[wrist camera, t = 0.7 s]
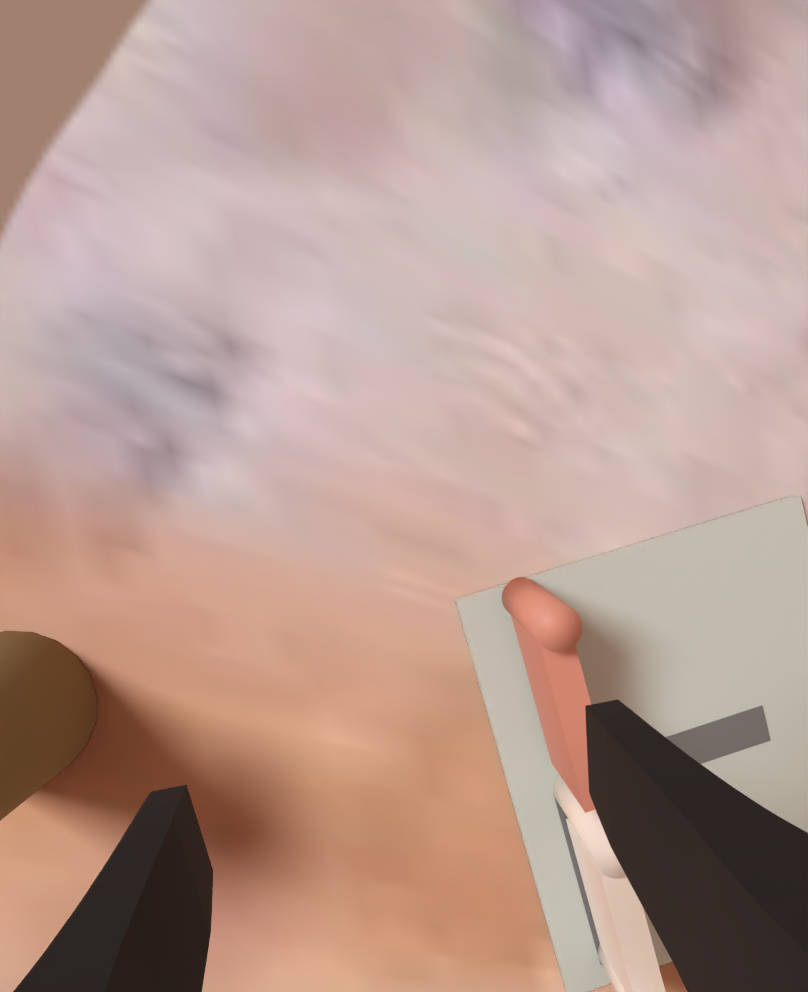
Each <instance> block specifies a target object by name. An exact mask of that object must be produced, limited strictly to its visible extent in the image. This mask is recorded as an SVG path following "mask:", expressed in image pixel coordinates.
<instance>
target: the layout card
mask: <svg viewBox="0 0 808 992" xmlns="http://www.w3.org/2000/svg"><path fill="white" fill-rule="evenodd" d="M525 578H529V579H531V580H533V581H534V582H536V583H537V584H539V585H540V586H541V587H543V588H544V589H546V590H547V591H548V592H550V593H551V594H553V595H554V596H555V597H557V598H558V599H560V600H561V601H562V602H564V603H565V604H566V605H568V606H569V607H571V608H572V609H573V610H575V611H576V612H577V613H578V615H579V617H580V619H581V622H582V633H581V637H580V639H579V640H578V642H577V643H576V644H575V645H576V649H577V653H578V656H579V660H580V664H581V668H582V671H583V675H584V679H585V683H586V687H587V690H588V694H589V698H590V702H591V704H597V703H602V702H607V701H612V700H617V699H618V700H619V701H620V702H622V703H623V704H624V705H626V706H627V707H628V708H630V709H631V710H632V711H633V712H635V713H636V714H637V715H638V716H640V717H641V718H642V719H643V720H644V721H646V722H647V723H648V724H649V725H651V726H652V727H653V728H654V729H656V730H657V731H658V732H659V733H661V734H662V735H663V736H665V737H666V738H667V739H668V740H670V741H671V742H672V743H673V744H675V745H676V746H677V747H679V748H680V749H681V750H683V751H684V752H685V753H687V754H688V755H689V756H691V757H692V758H693V759H695V760H696V761H697V762H699V763H700V764H701V765H703V766H704V767H706V768H707V769H708V770H710V771H711V772H712V773H714V774H715V775H716V776H718V777H719V778H721V779H722V780H724V781H725V782H726V783H728V784H729V785H731V786H732V787H734V788H735V789H737V790H738V791H740V792H741V793H743V794H744V795H746V796H747V797H749V798H750V799H752V800H753V801H755V802H756V803H758V804H759V805H761V806H763V807H764V808H766V809H767V810H769V811H771V812H772V813H774V814H776V815H777V816H779V817H781V818H782V819H784V820H786V821H788V822H789V823H791V824H793V825H795V826H797V827H798V828H800V829H802V830H804V831H805V832H807V833H808V526H807V522H806V517H805V513H804V509H803V504H802V500H801V495H792V496H789V497H785V498H782V499H779V500H776V501H772V502H769V503H766V504H763V505H759V506H756V507H753V508H750V509H746V510H743V511H740V512H737V513H733V514H730V515H727V516H724V517H720V518H717V519H714V520H711V521H707V522H704V523H701V524H698V525H694V526H691V527H688V528H685V529H681V530H678V531H675V532H672V533H668V534H665V535H662V536H659V537H655V538H652V539H649V540H646V541H642V542H639V543H636V544H633V545H629V546H626V547H623V548H620V549H616V550H613V551H610V552H607V553H603V554H600V555H597V556H594V557H590V558H587V559H584V560H581V561H577V562H574V563H571V564H568V565H564V566H561V567H558V568H555V569H551V570H548V571H545V572H542V573H538V574H535V575H532V576H529V577H525ZM507 584H508V583H506V584H503V585H499V586H496V587H493V588H490V589H486V590H483V591H480V592H477V593H473V594H470V595H467V596H464V597H460V598H457V599H455V601H456V605H457V608H458V612H459V615H460V619H461V622H462V626H463V629H464V633H465V637H466V640H467V644H468V647H469V651H470V654H471V658H472V661H473V665H474V668H475V672H476V676H477V679H478V683H479V686H480V690H481V693H482V697H483V700H484V704H485V707H486V711H487V714H488V718H489V722H490V725H491V729H492V732H493V736H494V739H495V743H496V746H497V750H498V753H499V757H500V760H501V764H502V768H503V771H504V775H505V778H506V782H507V785H508V789H509V792H510V796H511V799H512V803H513V806H514V810H515V814H516V817H517V821H518V824H519V828H520V831H521V835H522V838H523V842H524V845H525V849H526V852H527V856H528V860H529V863H530V867H531V870H532V874H533V877H534V881H535V884H536V888H537V891H538V895H539V899H540V902H541V906H542V909H543V913H544V916H545V920H546V923H547V927H548V930H549V934H550V937H551V941H552V945H553V948H554V952H555V955H556V959H557V962H558V966H559V969H560V973H561V976H562V980H563V983H564V987H565V991H566V992H588V991H591V990H594V989H597V988H599V987H602V986H605V985H608V984H611V981H610V979H609V977H608V975H607V973H606V971H605V969H604V967H603V965H602V963H601V961H600V960H599V957H598V947H599V945H600V942H599V939H598V935H597V931H596V928H595V924H594V920H593V917H592V913H591V910H590V906H589V902H588V899H587V895H586V891H585V888H584V884H583V880H582V877H581V873H580V869H579V866H578V862H577V859H576V855H575V851H574V848H573V844H572V840H571V837H570V833H569V829H568V826H567V822H566V819H568V818H567V816H566V814H565V813H564V811H563V810H562V808H561V806H560V805H559V803H558V802H557V800H556V798H555V796H554V794H553V783H554V781H555V779H556V777H557V776H558V775H559V773H558V772H557V770H556V769H555V767H554V766H553V764H552V763H551V759H550V755H549V752H548V748H547V744H546V741H545V737H544V734H543V730H542V726H541V723H540V719H539V715H538V712H537V708H536V704H535V701H534V697H533V693H532V690H531V686H530V683H529V679H528V675H527V672H526V668H525V664H524V661H523V657H522V653H521V650H520V646H519V642H518V639H517V635H516V631H515V628H514V624H513V621H512V617H511V614H510V613H509V612H508V611H507V610H506V609H505V608H504V606H503V603H502V593H503V590H504V588H505V586H506V585H507ZM643 909H644V908H643ZM644 913H645V917H646V920H647V924H648V928H649V932H650V936H651V939H652V943H653V947H654V951H655V954H656V958H657V962H658V966H661V965H664V964H667V963H670V962H673V961H672V959H671V958H670V956H669V954H668V952H667V950H666V948H665V947H664V945H663V943H662V941H661V939H660V937H659V936H658V934H657V932H656V930H655V928H654V926H653V924H652V923H651V921H650V919H649V917H648V915H647V913H646V912H645V910H644Z"/></svg>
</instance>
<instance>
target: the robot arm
mask: <svg viewBox="0 0 808 992" xmlns="http://www.w3.org/2000/svg"><path fill="white" fill-rule="evenodd" d="M585 712H586V735H587V757H588V780H589V794H590V796H591V799H592V801H593V804H594V807H595V809H596V812H597V814H598V817H599V819H600V822H601V824H602V827H603V829H604V832H605V834H606V837H607V839H608V841H609V844H610V846H611V848H612V850H613V852H614V854H615V856H616V858H617V860H618V861H619V863H620V865H621V867H622V869H623V871H624V873H625V875H626V876H627V878H628V880H629V882H630V884H631V886H632V888H633V889H634V891H635V893H636V895H637V897H638V899H639V901H640V902H641V904H642V906H643V908H644V910H645V912H646V913H647V915H648V917H649V919H650V921H651V923H652V924H653V926H654V928H655V930H656V932H657V934H658V936H659V937H660V939H661V941H662V943H663V945H664V947H665V948H666V950H667V952H668V954H669V956H670V958H671V959H672V961H673V963H674V965H675V967H676V969H677V971H678V973H679V975H680V977H681V979H682V981H683V983H684V985H685V987H686V989H687V991H688V992H808V833H807V832H805V831H804V830H802V829H800V828H798V827H797V826H795V825H793V824H791V823H789V822H788V821H786V820H784V819H782V818H781V817H779V816H777V815H776V814H774V813H772V812H771V811H769V810H767V809H766V808H764V807H763V806H761V805H759V804H758V803H756V802H755V801H753V800H752V799H750V798H749V797H747V796H746V795H744V794H743V793H741V792H740V791H738V790H737V789H735V788H734V787H732V786H731V785H729V784H728V783H726V782H725V781H724V780H722V779H721V778H719V777H718V776H716V775H715V774H714V773H712V772H711V771H710V770H708V769H707V768H706V767H704V766H703V765H701V764H700V763H699V762H697V761H696V760H695V759H693V758H692V757H691V756H689V755H688V754H687V753H685V752H684V751H683V750H681V749H680V748H679V747H677V746H676V745H675V744H673V743H672V742H671V741H670V740H668V739H667V738H666V737H665V736H663V735H662V734H661V733H659V732H658V731H657V730H656V729H654V728H653V727H652V726H651V725H649V724H648V723H647V722H646V721H644V720H643V719H642V718H641V717H640V716H638V715H637V714H636V713H635V712H633V711H632V710H631V709H630V708H628V707H627V706H626V705H624V704H623V703H622V702H620V701H619V700H618V699H617V700H612V701H607V702H602V703H597V704H591V705H586V706H585ZM212 887H213V869H212V866H211V863H210V859H209V856H208V853H207V850H206V847H205V843H204V840H203V837H202V834H201V830H200V827H199V824H198V821H197V818H196V814H195V811H194V808H193V805H192V801H191V798H190V795H189V792H188V789H187V785H183V786H178V787H173V788H168V789H163V790H158V791H153V792H151V793H150V794H149V795H148V797H147V798H146V800H145V801H144V803H143V804H142V806H141V808H140V809H139V811H138V813H137V814H136V816H135V817H134V819H133V821H132V822H131V824H130V826H129V827H128V829H127V831H126V832H125V834H124V835H123V837H122V839H121V840H120V842H119V843H118V845H117V847H116V848H115V850H114V851H113V853H112V855H111V856H110V858H109V859H108V861H107V862H106V864H105V866H104V867H103V869H102V870H101V872H100V873H99V875H98V876H97V878H96V879H95V881H94V882H93V884H92V885H91V887H90V888H89V890H88V891H87V893H86V894H85V896H84V897H83V899H82V900H81V902H80V903H79V905H78V906H77V908H76V909H75V911H74V912H73V913H72V915H71V916H70V917H69V919H68V920H67V922H66V923H65V924H64V926H63V927H62V929H61V930H60V931H59V933H58V934H57V935H56V937H55V938H54V940H53V941H52V942H51V944H50V945H49V946H48V948H47V949H46V951H45V952H44V953H43V955H42V956H41V957H40V959H39V960H38V961H37V962H36V964H35V965H34V966H33V968H32V969H31V970H30V971H29V973H28V974H27V975H26V977H25V978H24V979H23V980H22V982H21V983H20V984H19V985H18V987H17V988H16V989H15V990H14V991H13V992H202V986H203V979H204V973H205V966H206V959H207V953H208V946H209V939H210V932H211V914H212Z"/></svg>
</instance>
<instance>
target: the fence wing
mask: <svg viewBox="0 0 808 992" xmlns="http://www.w3.org/2000/svg"><path fill="white" fill-rule="evenodd" d="M502 603H503V606H504V608H505V609H506V610H507V611H508V612H509V613H510V614H511V617H512V621H513V624H514V628H515V631H516V635H517V639H518V642H519V646H520V650H521V653H522V657H523V661H524V664H525V668H526V672H527V675H528V679H529V683H530V686H531V690H532V693H533V697H534V701H535V704H536V708H537V712H538V715H539V719H540V723H541V726H542V730H543V734H544V737H545V741H546V744H547V748H548V752H549V755H550V759H551V763H552V764H553V766H554V767H555V769H556V770H557V772H558V773H559V775H560V776H561V778H562V779H563V781H564V782H565V783H566V785H567V786H568V788H569V789H570V791H571V792H572V794H573V795H574V797H575V798H576V800H577V801H578V803H579V804H580V806H581V807H582V808H583V810H584V811H585V813H587V812H590V811H593V810H596V809H595V807H594V804H593V801H592V799H591V796H590V794H589V780H588V757H587V735H586V712H585V706H586V705H591V702H590V698H589V694H588V690H587V687H586V683H585V679H584V675H583V671H582V668H581V664H580V660H579V656H578V653H577V649H576V645H575V644H576V643H577V642H578V640H579V639H580V637H581V633H582V622H581V619H580V617H579V615H578V613H577V612H576V611H575V610H573V609H572V608H571V607H569V606H568V605H566V604H565V603H564V602H562V601H561V600H560V599H558V598H557V597H555V596H554V595H553V594H551V593H550V592H548V591H547V590H546V589H544V588H543V587H541V586H540V585H539V584H537V583H536V582H534V581H533V580H531V579H529V578H525V577H519V578H515V579H513V580H511V581H510V582H509V583H508V584H507V585H506V586H505V588H504V590H503V593H502Z"/></svg>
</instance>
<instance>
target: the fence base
mask: <svg viewBox="0 0 808 992" xmlns="http://www.w3.org/2000/svg"><path fill="white" fill-rule="evenodd" d="M553 794H554V796H555V798H556V800H557V802H558V803H559V805H560V806H561V808H562V810H563V811H564V813H565V814H566V816H567V818H568V819H566V822H567V826H568V829H569V833H570V837H571V840H572V844H573V848H574V851H575V855H576V859H577V862H578V866H579V869H580V873H581V877H582V880H583V884H584V888H585V891H586V895H587V899H588V902H589V906H590V910H591V913H592V917H593V920H594V924H595V928H596V931H597V935H598V939H599V942H600V945H599V947H598V957H599V960H600V961H601V963H602V965H603V967H604V969H605V971H606V973H607V975H608V977H609V979H610V981H611V983H612V985H613V987H614V989H615V990H616V992H665V988H664V984H663V981H662V977H661V973H660V969H659V966H658V962H657V958H656V954H655V951H654V947H653V943H652V939H651V936H650V932H649V928H648V924H647V920H646V917H645V913H644V909H643V906H642V904H641V902H640V901H639V899H638V897H637V895H636V893H635V891H634V889H633V888H632V886H631V884H630V882H629V880H628V878H627V876H626V875H625V873H624V871H623V869H622V867H621V865H620V863H619V861H618V860H617V858H616V856H615V854H614V852H613V850H612V848H611V846H610V844H609V841H608V839H607V837H606V834H605V832H604V829H603V827H602V824H601V822H600V819H599V817H598V814H597V812H596V810H593V811H590V812H587V813H585V811H584V810H583V808H582V807H581V806H580V804H579V803H578V801H577V800H576V798H575V797H574V795H573V794H572V792H571V791H570V789H569V788H568V786H567V785H566V783H565V782H564V781H563V779H562V778H561V776H560V775H558V776H557V777H556V779H555V781H554V783H553Z"/></svg>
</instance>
